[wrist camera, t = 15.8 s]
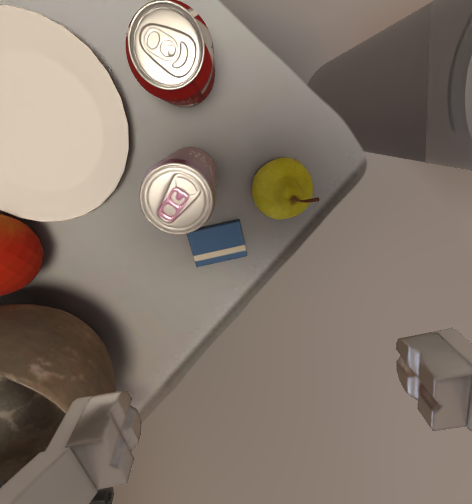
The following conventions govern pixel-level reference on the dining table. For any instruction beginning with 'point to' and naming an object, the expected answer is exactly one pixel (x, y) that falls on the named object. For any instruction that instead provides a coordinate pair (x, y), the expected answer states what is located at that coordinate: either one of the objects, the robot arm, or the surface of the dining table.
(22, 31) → the plate
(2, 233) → the fruit
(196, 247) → the notebook
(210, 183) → the beverage can
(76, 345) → the bowl
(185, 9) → the soda can
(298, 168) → the fruit
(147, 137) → the dining table surface
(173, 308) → the dining table surface
